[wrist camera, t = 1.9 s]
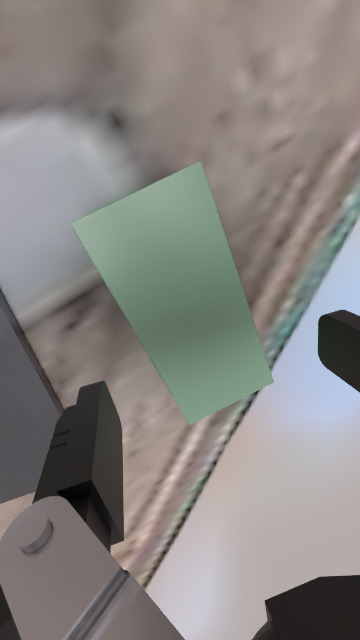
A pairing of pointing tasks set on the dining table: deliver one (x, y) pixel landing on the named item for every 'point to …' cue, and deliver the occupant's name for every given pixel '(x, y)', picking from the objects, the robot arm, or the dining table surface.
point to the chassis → (22, 411)
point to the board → (180, 290)
